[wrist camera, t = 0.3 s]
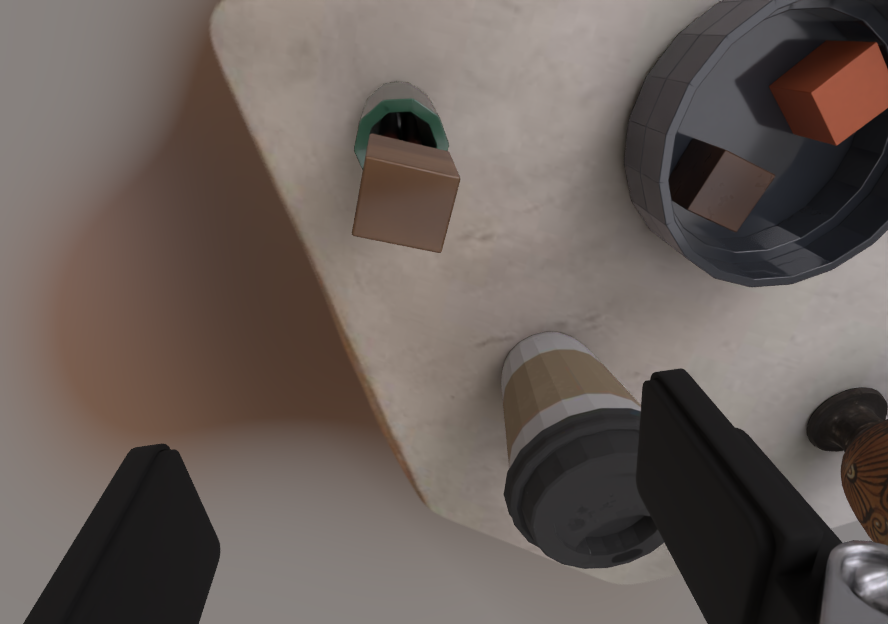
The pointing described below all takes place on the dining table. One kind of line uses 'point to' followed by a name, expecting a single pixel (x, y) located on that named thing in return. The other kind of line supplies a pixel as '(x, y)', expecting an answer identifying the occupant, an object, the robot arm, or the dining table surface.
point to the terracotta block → (833, 90)
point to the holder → (399, 116)
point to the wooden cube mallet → (405, 188)
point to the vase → (858, 452)
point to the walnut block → (717, 184)
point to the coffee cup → (573, 455)
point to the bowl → (760, 142)
